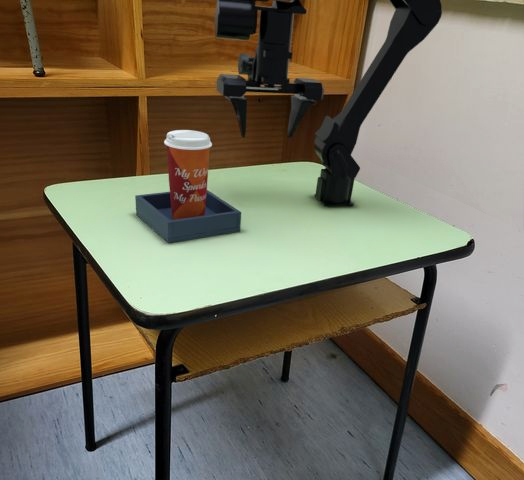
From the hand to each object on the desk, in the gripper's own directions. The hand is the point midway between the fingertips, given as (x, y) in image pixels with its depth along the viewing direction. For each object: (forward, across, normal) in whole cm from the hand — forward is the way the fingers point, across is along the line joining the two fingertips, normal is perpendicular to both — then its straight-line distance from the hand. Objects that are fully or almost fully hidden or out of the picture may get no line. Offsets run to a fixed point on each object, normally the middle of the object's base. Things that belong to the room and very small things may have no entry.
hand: (266, 137), depth 101 cm
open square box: (+12, +17, +11) cm, 24 cm away
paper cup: (+11, +17, +11) cm, 23 cm away
